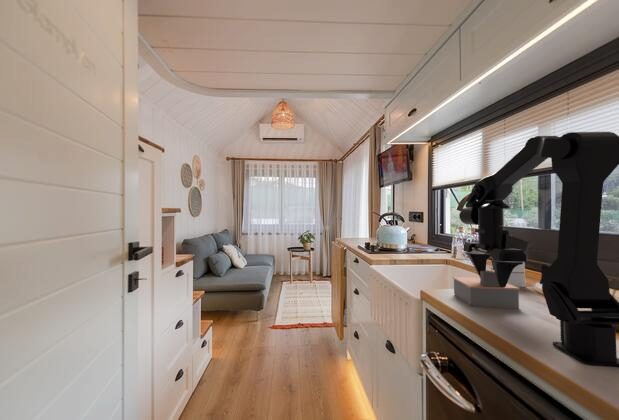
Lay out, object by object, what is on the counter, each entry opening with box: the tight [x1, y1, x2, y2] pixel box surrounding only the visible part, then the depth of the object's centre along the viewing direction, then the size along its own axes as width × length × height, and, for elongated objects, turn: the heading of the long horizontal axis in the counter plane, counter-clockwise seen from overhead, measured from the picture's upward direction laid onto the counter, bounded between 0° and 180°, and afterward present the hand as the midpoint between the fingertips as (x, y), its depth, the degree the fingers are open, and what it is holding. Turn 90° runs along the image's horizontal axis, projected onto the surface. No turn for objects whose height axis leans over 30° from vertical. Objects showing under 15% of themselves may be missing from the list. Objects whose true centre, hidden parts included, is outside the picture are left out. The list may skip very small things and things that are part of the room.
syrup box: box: [507, 262, 527, 288], centre depth 89 cm, size 6×6×14 cm
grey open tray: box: [453, 279, 520, 309], centre depth 71 cm, size 10×12×5 cm
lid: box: [452, 270, 521, 291], centre depth 72 cm, size 10×12×4 cm
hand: (491, 282), depth 68 cm, fingers open, 9 cm apart
